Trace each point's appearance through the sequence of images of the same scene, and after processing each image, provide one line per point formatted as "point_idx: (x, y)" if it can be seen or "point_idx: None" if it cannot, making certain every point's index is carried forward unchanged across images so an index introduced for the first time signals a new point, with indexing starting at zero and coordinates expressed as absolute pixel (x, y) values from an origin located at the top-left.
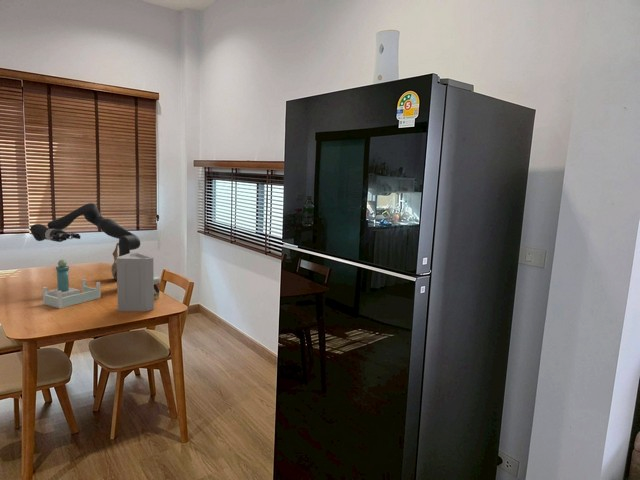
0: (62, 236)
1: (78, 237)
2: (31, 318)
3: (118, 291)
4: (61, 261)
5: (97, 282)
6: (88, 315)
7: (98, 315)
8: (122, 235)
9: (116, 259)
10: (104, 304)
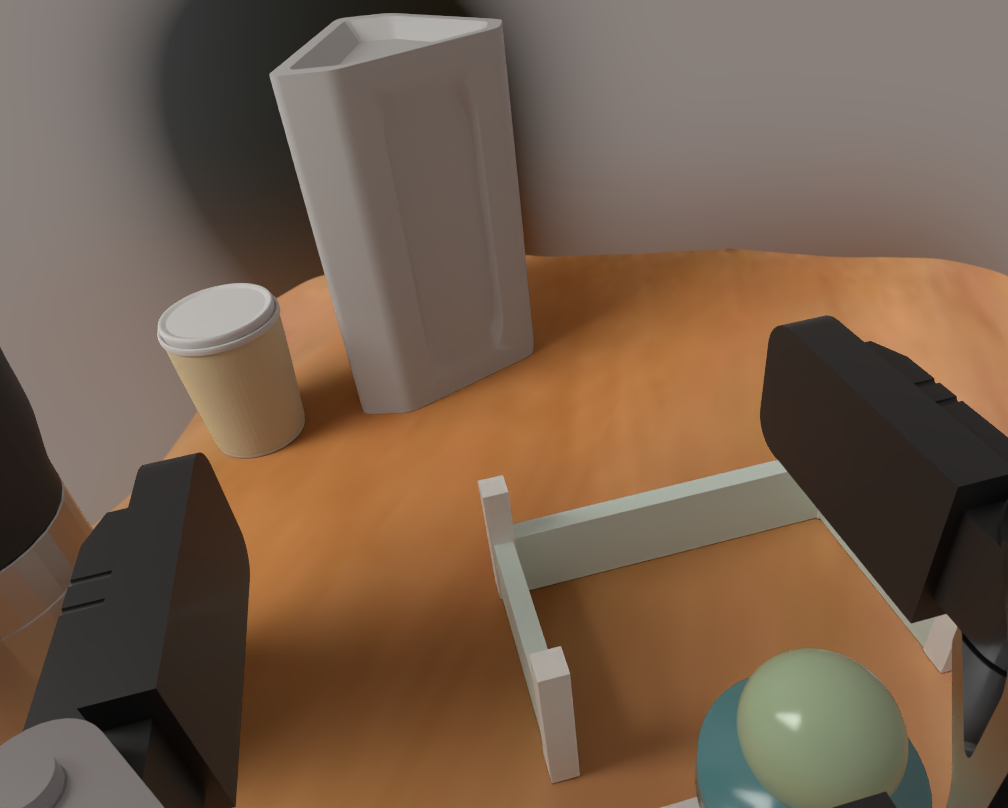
0: (929, 401)
1: (230, 548)
2: (993, 417)
3: (523, 243)
4: (842, 656)
5: (494, 491)
6: (686, 346)
7: (643, 331)
8: None
9: None
10: (545, 446)
